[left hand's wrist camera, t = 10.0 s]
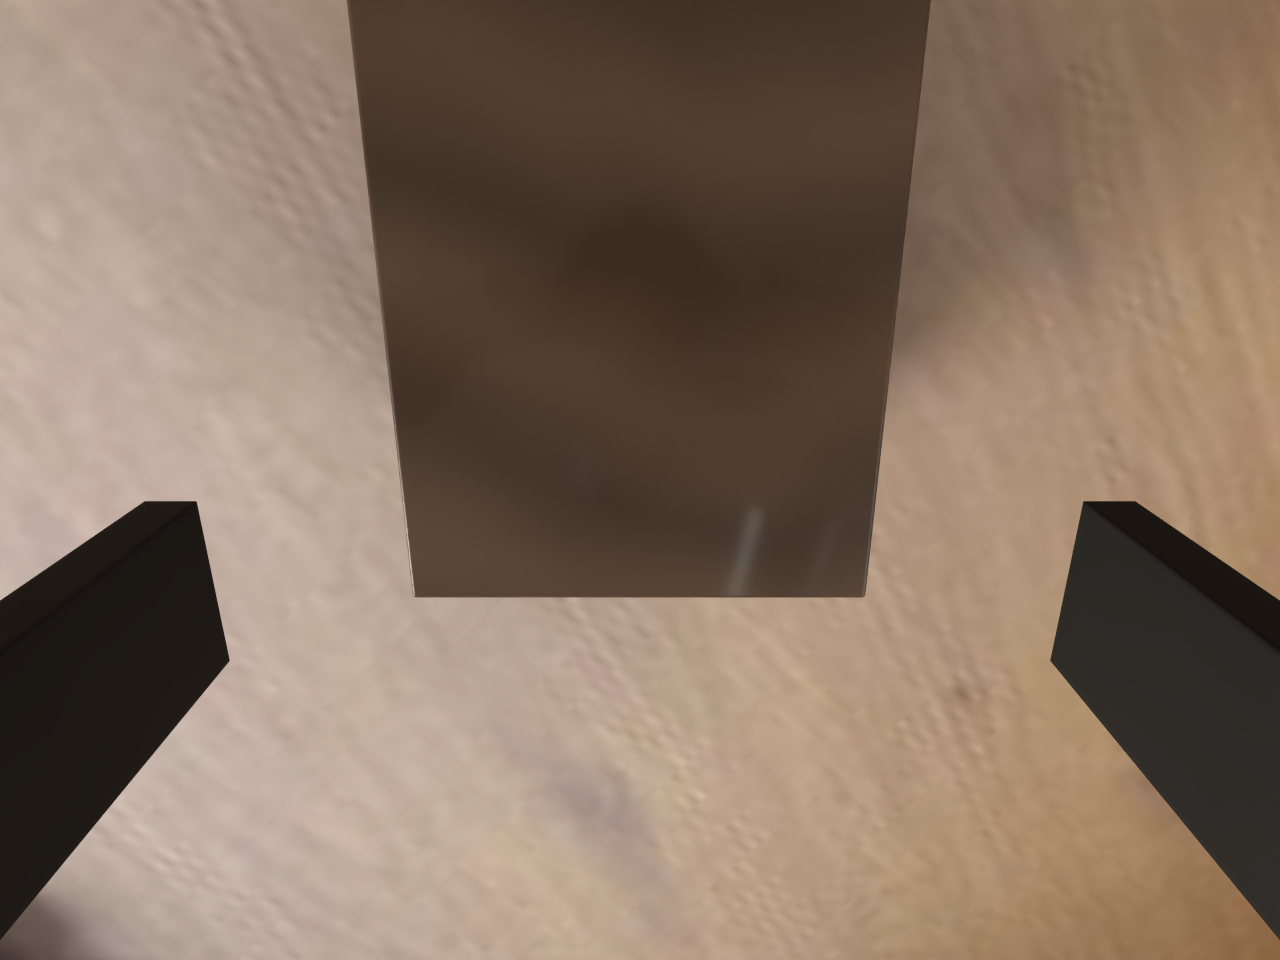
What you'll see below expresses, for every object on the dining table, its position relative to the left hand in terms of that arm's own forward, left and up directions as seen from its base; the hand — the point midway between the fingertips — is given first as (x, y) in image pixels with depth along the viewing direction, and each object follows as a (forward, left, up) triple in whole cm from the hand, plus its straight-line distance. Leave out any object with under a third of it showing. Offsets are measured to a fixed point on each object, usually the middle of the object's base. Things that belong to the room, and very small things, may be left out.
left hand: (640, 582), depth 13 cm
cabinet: (+5, -2, -17) cm, 17 cm away
